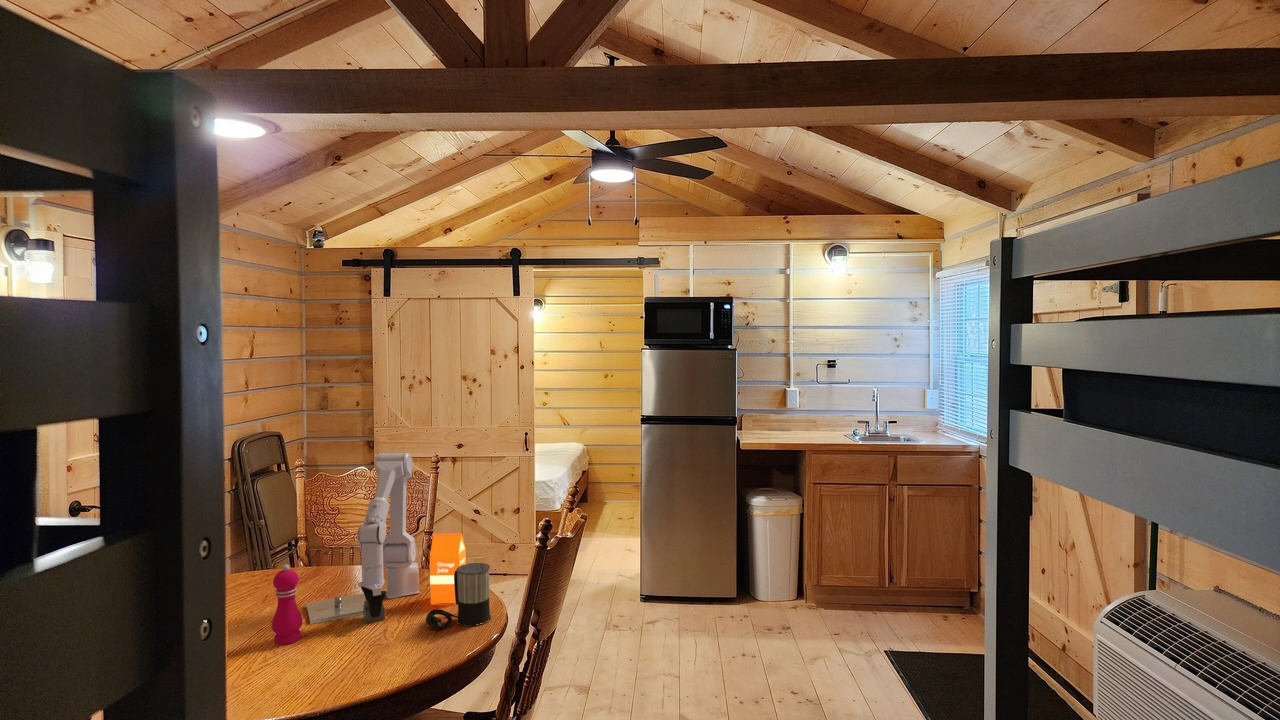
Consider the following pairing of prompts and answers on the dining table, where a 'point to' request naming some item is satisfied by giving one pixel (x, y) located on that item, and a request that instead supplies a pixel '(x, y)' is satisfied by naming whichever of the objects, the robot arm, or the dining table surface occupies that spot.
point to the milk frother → (467, 597)
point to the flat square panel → (335, 608)
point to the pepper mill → (286, 608)
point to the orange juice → (445, 566)
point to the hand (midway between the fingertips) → (373, 613)
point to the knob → (367, 614)
